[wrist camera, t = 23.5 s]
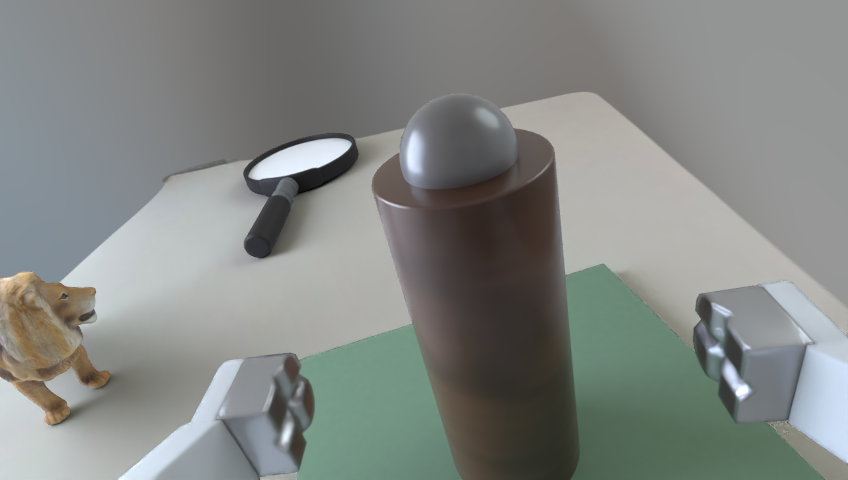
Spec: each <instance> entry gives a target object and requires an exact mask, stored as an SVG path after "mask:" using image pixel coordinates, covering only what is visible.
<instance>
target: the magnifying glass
mask: <svg viewBox="0 0 848 480" xmlns="http://www.w3.org/2000/svg"><path fill="white" fill-rule="evenodd" d="M357 158H358V149H357V146H356V143H355V140H354V138H353V137H352V136H350V135H347V134H342V133H327V134H320V135H314V136H309V137H305V138H301V139H298V140H295V141H292V142H289V143H286V144H283V145H280V146H278V147H276V148H273V149H271V150H269V151H267V152H266V153H264V154H262V155H260V156H259V157H257V158H256V159H254V160H253V161H252V162H251V163H249V164H248V166H247V167H246V168H245V170H244V172H243V174H244V178H245V180H246V182H247V185H248V187H249V188H250V190H251V191H253V192H255V193H258V194H264V195H266V196H271V197H270V198H269V199H268V201H267V202H266V204H265V206H264V207H263V209H262V211H261V213H260V214H259V216H258V218H257V219H256V221H255V223H254V225H253V226H252V228H251V230H250V232H249V233H248V235H247V237H246V239H245V241H244V248H245V250H246V251H247V252H248V253H249V254H250V255H252V256H254V257H258V258H261V257H265V256H267V255H268V254H269V253H270V252H271V250H272V248H273V246H274V244H275V241H276V239H277V237H278V235H279V233H280V231H281V229H282V227H283V224H284V222H285V220H286V218H287V216H288V214H289V212H290V209H291V205H292V203H293V198H294V197H295V196H296V194H297V193H299V192H303V191H306V190H309V189H312V188H315V187H318V186H320V185H322V184H323V182H325V181H327V180H330V179H332V178H333V177H335V176H337V175H339V174H341V173H342V172H344V171H345V170H347V169H348V168H349V167H350V166H351V165H352V164H353V163H354V162H355V161H356V159H357Z"/></svg>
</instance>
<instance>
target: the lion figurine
mask: <svg viewBox="0 0 848 480" xmlns="http://www.w3.org/2000/svg"><path fill="white" fill-rule="evenodd" d="M95 293H96V290H95V288H93V287H84V288H78V287H66V286H64V285H63V284H61V283H45V282H44V281H42V280H41V279H40V278H39V277H38V276H37V275H36V274H35V272H32V271H31V272H20V273H18V274H17V275H15V276H12V277H9V278H3V279H0V377H2V378H3V379H5V380H7V381H8V382H11V383H12V384H13V386H14V387H15V388H16V389H17V390H18V391H19V392H21V393H22V394H24V395H25V396H27V397H28V398H29V399H30V400H31V401H33V402H34V403H36V404H37V405H39V406H40V407H41V408H42V409H43V410H44V411H45V413H46V416H45V419H44V420H45V422H46V423H47V424H48V425H54V424H57V423H59V422H61V421H63V420H64V419H65V418H66V417H67V416H69V414H70V409H69V407H68V406H67V402H66V401H65V400H63V399H61V398H60V397H58V396H57V395H55V394H54V393H52V392H51V391H50V390H49V389H48V388H47V387H46V386H45V384H44V382H43V381H49V380H51V379H53V378H54V377H56V376H57V375H59V374H62V373H63V372H65V371H67V370H68V369H69V368H70V367H71V366H72V368H73V369H74V371H75V374H76V376H77V378H78V380H79V382H80V383H81V384H82V385H85V386H88V387H90V388H92V389H97V388H100V387H101V386H104V385H105V384H106V382H107V381H108V380H109V377H110V375H111V374H110V372H109V371H98V370H96V369H95V368H94V367H93V366H92V364H91V363H90V361H89V360H88V357H87V354H86V351H85V349H84V348H83V346H82V345H81V342H82V340H83V334H82V332H81V329H80V327H79V326H78V325H81V324H88V323H93V322H95V321H96V319H97V315H96V312H95V310H94V306H95Z"/></svg>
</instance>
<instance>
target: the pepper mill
mask: <svg viewBox="0 0 848 480" xmlns="http://www.w3.org/2000/svg"><path fill="white" fill-rule="evenodd" d="M372 191H373V195H374V198H375V201H376V205H377V208H378V211H379V215H380V218H381V221H382V224H383V228H384V231H385V234H386V238H387V241H388V244H389V248H390V251H391V254H392V258H393V261H394V264H395V268H396V271H397V274H398V278H399V281H400V284H401V287H402V291H403V294H404V297H405V301H406V304H407V307H408V311H409V314H410V317H411V321H412V324H413V327H414V331H415V334H416V337H417V341H418V344H419V347H420V351H421V354H422V357H423V360H424V364H425V367H426V370H427V374H428V377H429V380H430V384H431V387H432V390H433V394H434V397H435V400H436V404H437V407H438V410H439V414H440V417H441V420H442V423H443V427H444V430H445V433H446V437H447V440H448V443H449V447H450V450H451V453H452V457H453V460H454V463H455V466H456V469H457V471H458V473H459V475H460V477H461V478H462V480H570V479H571V478H572V476H573V474H574V472H575V470H576V468H577V465H578V461H579V454H580V445H579V433H578V421H577V409H576V398H575V386H574V374H573V362H572V350H571V339H570V327H569V315H568V303H567V291H566V279H565V268H564V256H563V244H562V232H561V220H560V209H559V197H558V185H557V173H556V161H555V152H554V148H553V146H552V145H551V143H550V142H549V141H548V140H547V139H546V138H544V137H543V136H541V135H539V134H536V133H534V132H530V131H526V130H521V129H514V128H513V127H512V125H511V123H510V121H509V119H508V118H507V117H506V115H505V114H504V113H503V112H502V111H501V110H500V109H499V108H498V107H497V106H495V105H494V104H493V103H491V102H489V101H487V100H486V99H484V98H481V97H478V96H475V95H470V94H464V93H457V94H448V95H444V96H441V97H438V98H436V99H434V100H432V101H430V102H428V103H427V104H425V105H424V106H423V107H421V108H420V109H419V110H418V111H417V112H416V113H415V114H414V115H413V117H412V118H411V119H410V121H409V122H408V124H407V126H406V128H405V130H404V133H403V135H402V138H401V143H400V151H399V153H398V154H396V155H395V156H393V157H392V158H390V159H389V160H388V161H386V162H385V163H384V164H383V165H382V166H381V167H380V168H379V169H378V170H377V172H376V173H375V175H374V177H373V180H372Z"/></svg>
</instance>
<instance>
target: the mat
mask: <svg viewBox="0 0 848 480" xmlns="http://www.w3.org/2000/svg"><path fill="white" fill-rule="evenodd" d="M565 279H566V291H567V303H568V315H569V327H570V339H571V350H572V362H573V374H574V386H575V398H576V409H577V421H578V433H579V445H580V454H579V461H578V465H577V468H576V470H575V472H574V474H573V476H572V478H571V479H570V480H825V479H824V478H823V477H822V476H821V475H820V474H819V473H818V472H817V471H816V470H815V469H814V468H813V467H812V466H811V465H810V464H808V463H807V462H806V461H805V460H804V459H803V458H802V457H801V456H800V455H799V454H798V453H797V452H796V451H795V450H794V449H793V448H792V447H791V446H790V445H789V444H788V443H787V442H786V441H785V440H784V439H783V438H782V437H781V436H780V435H779V434H778V433H777V432H776V431H775V430H774V429H773V428H772V427H771V426H770V425H768V424H767V423H766V422H761V423H749V424H735V422H734V421H733V419H732V417H731V416H730V414H729V412H728V411H727V409H726V408H725V406H724V404H723V403H722V401H721V399H720V398H719V396H718V388H719V383H718V382H716V381H714V380H713V379H711V378H709V377H707V376H706V375H705V373H704V371H703V369H702V368H701V366H700V364H699V361H698V359H697V356H696V353H695V352H694V351H693V350H692V349H691V348H690V347H689V346H687V345H686V344H685V343H684V342H683V341H682V340H681V339H680V338H679V337H678V336H677V335H676V334H675V333H674V332H673V331H672V330H671V329H670V328H669V327H668V326H667V325H666V324H665V323H664V322H663V321H662V320H661V319H660V318H659V317H658V316H657V315H656V314H655V313H654V312H653V311H652V310H651V309H650V308H649V307H647V306H646V305H645V304H644V303H643V302H642V301H641V300H640V299H639V298H638V297H637V296H636V295H635V294H634V293H633V292H632V291H631V290H630V289H629V288H628V287H627V286H626V285H625V284H624V283H623V282H622V281H621V280H620V279H619V278H618V277H617V276H616V275H615V274H614V273H613V272H612V271H611V270H610V269H609V268H607V267H606V266H605V265H604V264H600V265H597V266H594V267H591V268H587V269H584V270H581V271H578V272H575V273H572V274H569V275H565ZM299 361H300V363H301V369H300V372H299V374H300V375H302V376H304V377H305V378H307V379H308V380H309V382H310V384H311V386H312V388H313V392H314V397H315V413H314V417H313V421H312V424H311V425H310V426H309V427H308V428H307V430H306V431H305V432H304V433H303V436H304V438H305V440H306V442H307V444H306V448H305V451H304V455H303V459H302V462H301V466H300V470H299V472H297V480H462V478H461V477H460V475H459V473H458V471H457V469H456V466H455V463H454V460H453V457H452V453H451V450H450V447H449V443H448V440H447V437H446V433H445V430H444V427H443V423H442V420H441V417H440V414H439V410H438V407H437V404H436V400H435V397H434V394H433V390H432V387H431V384H430V380H429V377H428V374H427V370H426V367H425V364H424V360H423V357H422V354H421V351H420V347H419V344H418V341H417V337H416V334H415V331H414V327H413V324H410V325H407V326H404V327H401V328H398V329H395V330H391V331H388V332H385V333H382V334H379V335H376V336H372V337H369V338H366V339H363V340H360V341H357V342H353V343H350V344H347V345H344V346H341V347H338V348H334V349H331V350H328V351H325V352H322V353H319V354H315V355H312V356H309V357H306V358H303V359H300V360H299Z"/></svg>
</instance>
